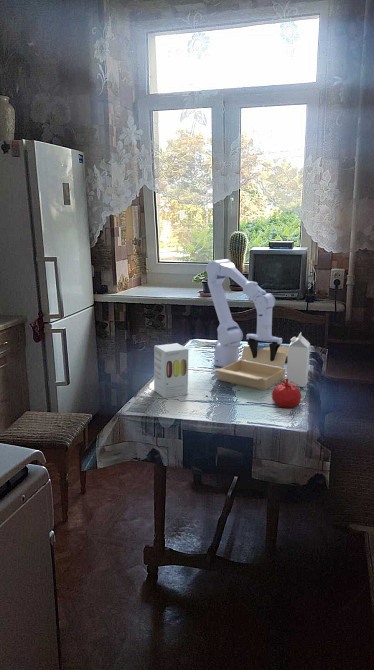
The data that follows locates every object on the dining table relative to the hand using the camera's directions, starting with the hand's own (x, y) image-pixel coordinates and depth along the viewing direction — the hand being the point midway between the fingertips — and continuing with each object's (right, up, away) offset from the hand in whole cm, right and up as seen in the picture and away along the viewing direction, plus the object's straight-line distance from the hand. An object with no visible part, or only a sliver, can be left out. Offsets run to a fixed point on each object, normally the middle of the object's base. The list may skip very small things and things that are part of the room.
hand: (263, 359), depth 200 cm
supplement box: (-36, -11, -19) cm, 42 cm away
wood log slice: (+11, -1, +25) cm, 28 cm away
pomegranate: (+3, -14, -29) cm, 33 cm away
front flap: (-11, -5, -14) cm, 19 cm away
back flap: (0, +1, +1) cm, 1 cm away
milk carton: (+11, -9, -9) cm, 17 cm away
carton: (-5, -8, -4) cm, 10 cm away
